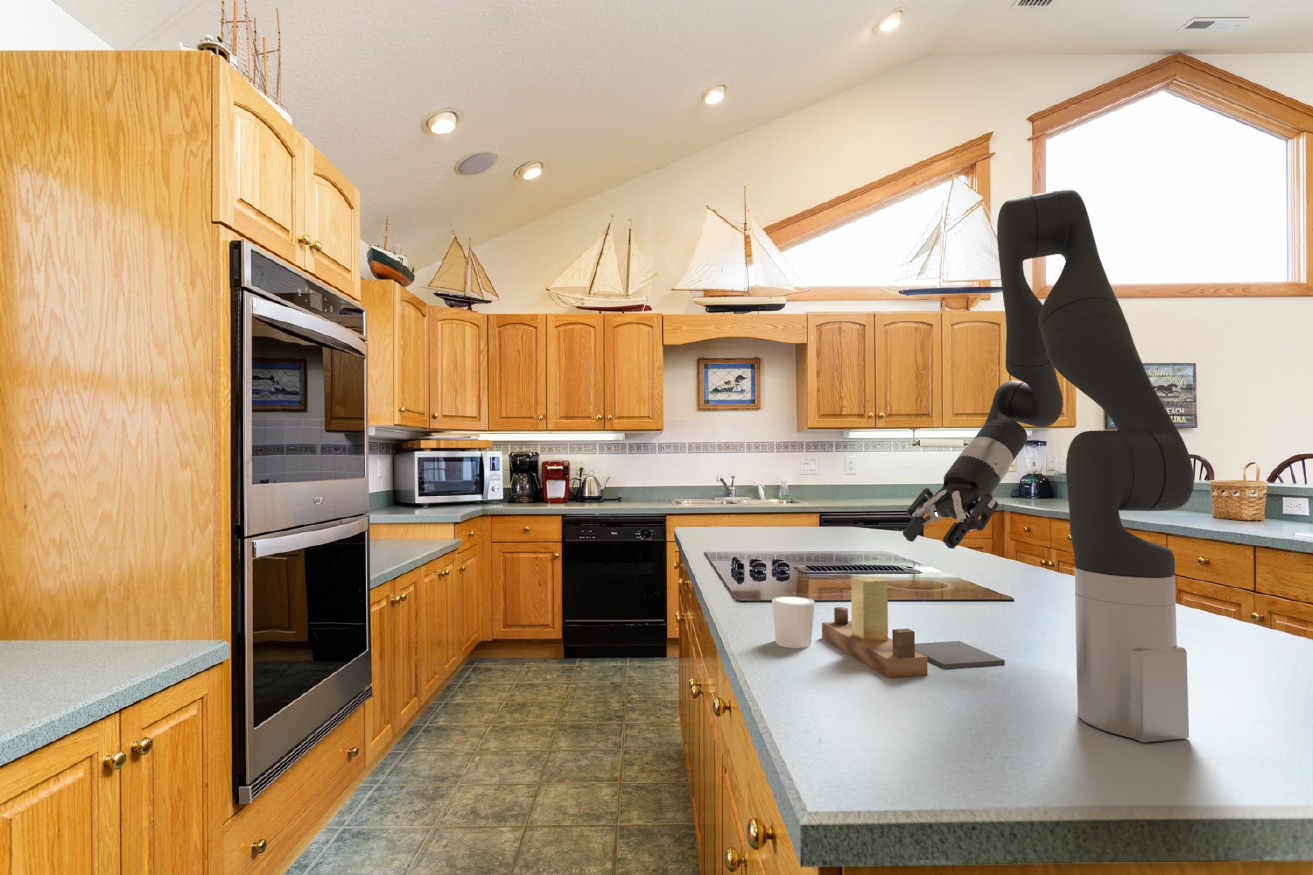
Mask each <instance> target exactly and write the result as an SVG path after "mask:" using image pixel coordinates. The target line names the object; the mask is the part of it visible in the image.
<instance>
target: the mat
mask: <svg viewBox="0 0 1313 875" xmlns="http://www.w3.org/2000/svg"><path fill="white" fill-rule="evenodd" d="M915 651H917V652H919V653H921V654H923V655H925V656H927V662H930V663H932V664H934V665H935V666H939V667H940V668H942V669H955V668H970V667H973V668H974V667H984V666H985V667H986V666H998V665H999V666H1000V665H1005V664H1006V662H1005V661H1006V660H1005V659H1003V658H1000V657H998V656H997V655H994V654H991V653H989V652H987V651H984V650H982V649H980V648H977V647H974V646H972V645H970V644H967V643H966V642H962V641H961V640H953V641H938V642H937V641H936V642H935V641H934V642H921V643H920V642H919V643H915Z"/></svg>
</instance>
